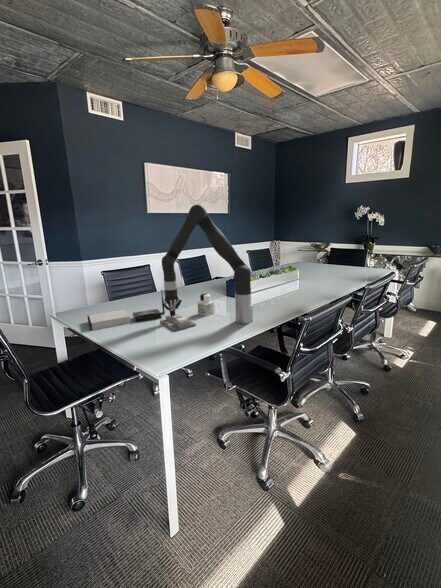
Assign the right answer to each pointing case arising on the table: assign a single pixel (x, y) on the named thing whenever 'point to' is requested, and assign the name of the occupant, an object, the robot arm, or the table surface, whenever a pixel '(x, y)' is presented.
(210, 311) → the container
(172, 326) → the keypad
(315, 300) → the table surface
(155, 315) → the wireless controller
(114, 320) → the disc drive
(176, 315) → the key slate
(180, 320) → the key cream
